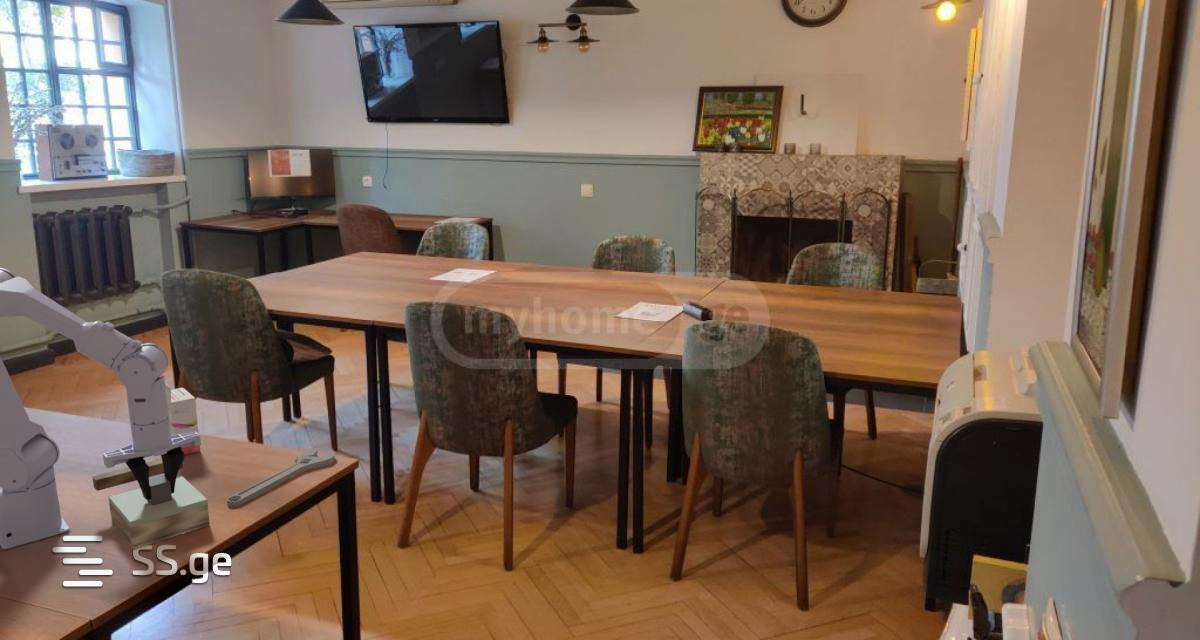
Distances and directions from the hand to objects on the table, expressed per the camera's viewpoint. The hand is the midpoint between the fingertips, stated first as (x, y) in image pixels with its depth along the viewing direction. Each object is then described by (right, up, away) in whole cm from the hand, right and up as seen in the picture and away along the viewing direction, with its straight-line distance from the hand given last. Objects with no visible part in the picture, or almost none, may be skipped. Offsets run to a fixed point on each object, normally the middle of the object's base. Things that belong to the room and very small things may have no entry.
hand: (158, 494), depth 146 cm
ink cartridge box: (-12, +3, +33) cm, 35 cm away
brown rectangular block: (-7, +2, +8) cm, 11 cm away
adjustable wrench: (+13, -2, +21) cm, 24 cm away
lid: (-1, -3, +1) cm, 3 cm away
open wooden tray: (-1, -5, +2) cm, 6 cm away
